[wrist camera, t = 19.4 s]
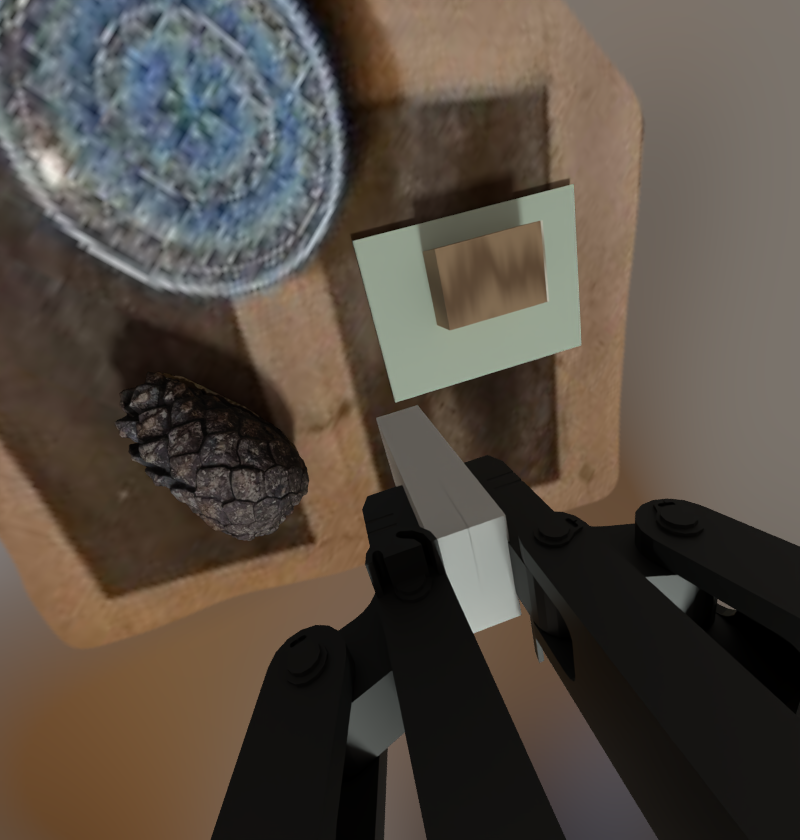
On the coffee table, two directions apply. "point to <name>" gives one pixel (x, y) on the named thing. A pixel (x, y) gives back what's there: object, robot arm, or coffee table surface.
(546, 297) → the beige rectangular block
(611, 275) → the coffee table surface
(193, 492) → the pine cone
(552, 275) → the mat
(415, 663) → the robot arm
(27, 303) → the coffee table surface
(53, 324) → the coffee table surface
